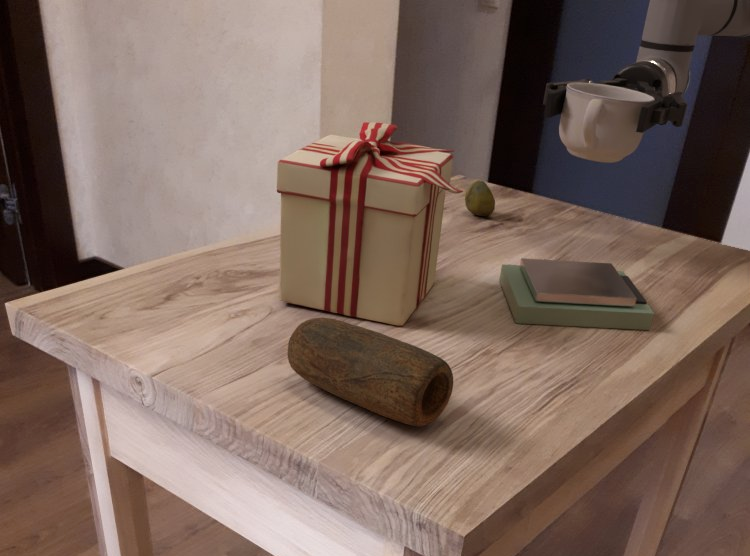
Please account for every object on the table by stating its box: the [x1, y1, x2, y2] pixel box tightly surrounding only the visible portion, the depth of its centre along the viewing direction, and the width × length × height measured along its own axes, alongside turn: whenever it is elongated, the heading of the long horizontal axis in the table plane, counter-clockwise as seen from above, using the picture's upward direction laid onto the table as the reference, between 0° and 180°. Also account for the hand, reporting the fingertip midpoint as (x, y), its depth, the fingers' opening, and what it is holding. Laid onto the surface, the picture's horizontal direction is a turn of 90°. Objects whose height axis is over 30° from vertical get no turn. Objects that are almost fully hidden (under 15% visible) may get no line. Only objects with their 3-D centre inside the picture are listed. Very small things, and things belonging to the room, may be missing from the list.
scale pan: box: [519, 257, 637, 307], centre depth 91 cm, size 11×11×1 cm
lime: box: [464, 179, 496, 217], centre depth 117 cm, size 4×5×5 cm
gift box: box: [276, 121, 464, 327], centre depth 87 cm, size 17×18×17 cm
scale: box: [499, 264, 655, 331], centre depth 92 cm, size 15×13×2 cm
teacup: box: [558, 82, 655, 164], centre depth 99 cm, size 14×11×8 cm
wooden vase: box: [287, 317, 454, 427], centre depth 69 cm, size 15×7×7 cm, turn 55°
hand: (594, 112), depth 95 cm, fingers closed on teacup, 11 cm apart
